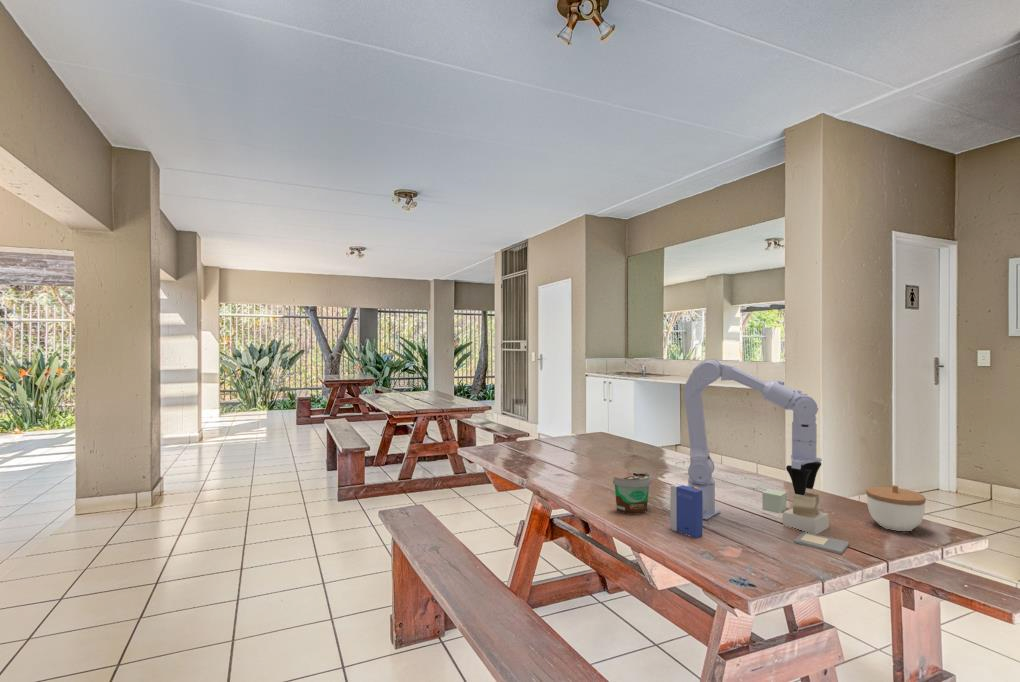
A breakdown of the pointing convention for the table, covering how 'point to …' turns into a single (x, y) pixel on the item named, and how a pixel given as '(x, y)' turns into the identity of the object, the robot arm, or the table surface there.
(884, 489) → the lidded bowl
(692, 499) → the walkman
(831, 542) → the card
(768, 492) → the sage cube
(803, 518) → the base block
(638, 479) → the food container
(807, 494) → the birch cube
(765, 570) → the table surface
